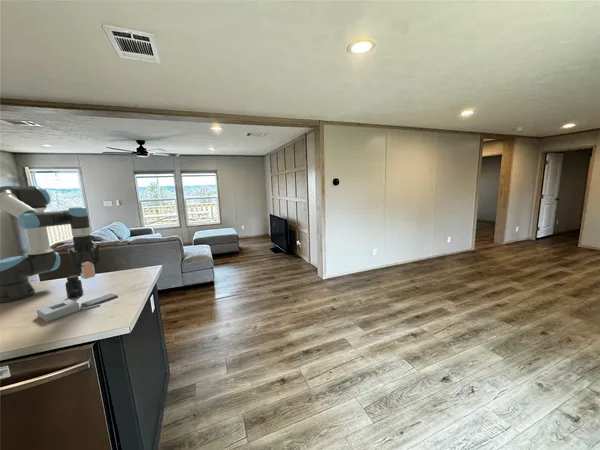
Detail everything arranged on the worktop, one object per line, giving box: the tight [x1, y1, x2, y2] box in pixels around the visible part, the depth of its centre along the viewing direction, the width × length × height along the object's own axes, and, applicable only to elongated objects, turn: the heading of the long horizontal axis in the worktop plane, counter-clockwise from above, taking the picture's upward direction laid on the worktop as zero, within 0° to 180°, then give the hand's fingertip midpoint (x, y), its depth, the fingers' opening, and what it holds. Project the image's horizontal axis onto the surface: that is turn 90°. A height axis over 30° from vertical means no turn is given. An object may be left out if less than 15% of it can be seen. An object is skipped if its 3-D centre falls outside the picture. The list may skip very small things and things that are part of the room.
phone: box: [80, 293, 119, 308], centre depth 132 cm, size 7×14×1 cm, turn 151°
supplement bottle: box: [64, 274, 84, 300], centre depth 140 cm, size 7×7×12 cm
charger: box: [81, 261, 95, 280], centre depth 135 cm, size 4×4×9 cm
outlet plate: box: [36, 298, 81, 323], centre depth 119 cm, size 12×12×4 cm
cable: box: [80, 303, 102, 311], centre depth 125 cm, size 8×1×1 cm, turn 121°
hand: (88, 276), depth 135 cm, fingers closed on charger, 4 cm apart
